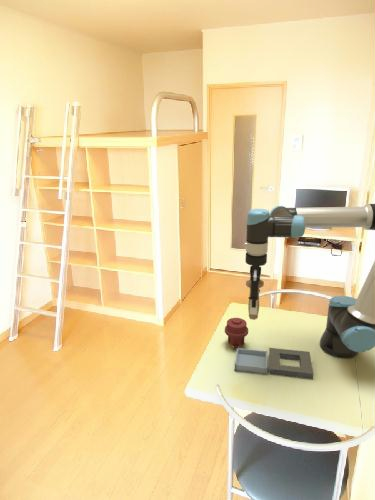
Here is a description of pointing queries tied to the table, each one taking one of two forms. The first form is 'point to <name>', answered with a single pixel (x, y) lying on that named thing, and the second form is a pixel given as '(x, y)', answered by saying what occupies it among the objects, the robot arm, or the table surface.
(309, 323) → the table surface
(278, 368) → the slotted grey plate
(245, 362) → the tray
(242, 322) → the mechanical component
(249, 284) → the handle
